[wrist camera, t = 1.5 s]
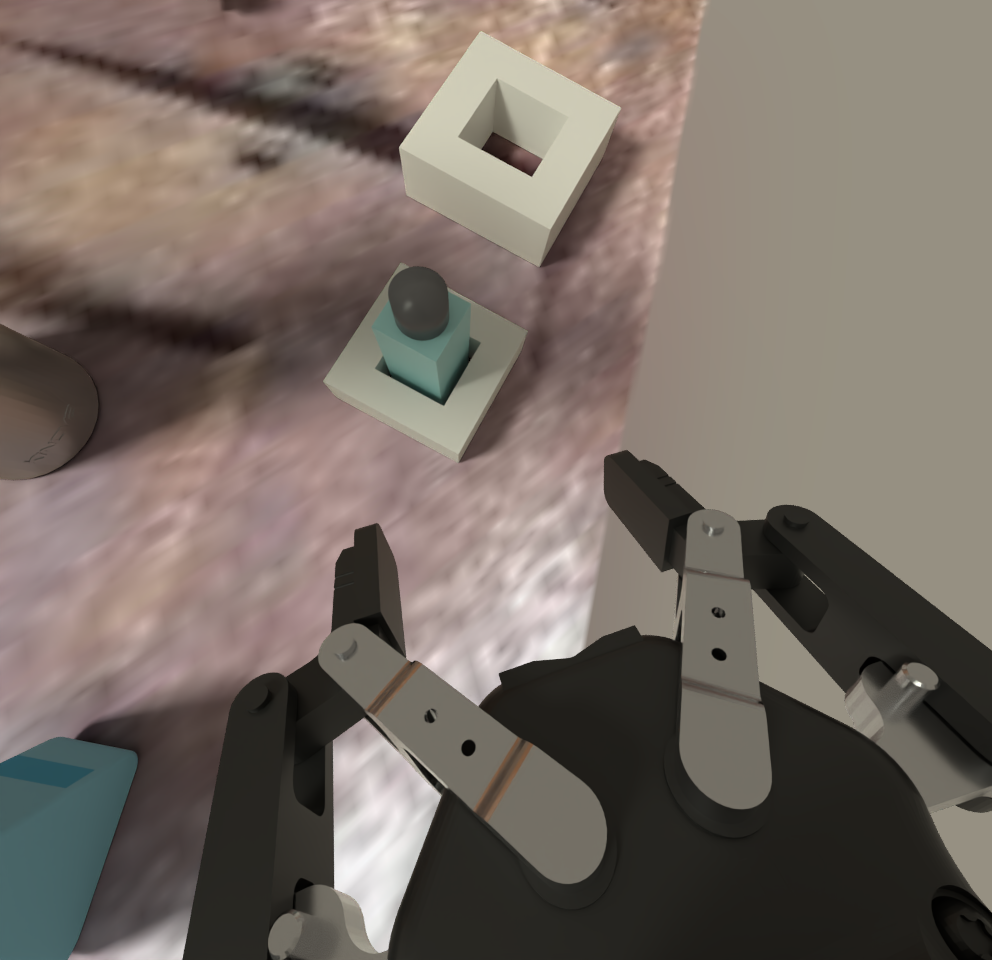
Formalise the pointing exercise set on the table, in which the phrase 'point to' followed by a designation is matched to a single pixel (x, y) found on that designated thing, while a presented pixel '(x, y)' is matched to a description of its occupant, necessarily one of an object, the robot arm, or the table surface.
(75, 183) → the table surface
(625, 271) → the table surface
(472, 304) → the holster
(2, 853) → the data package
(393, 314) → the plug
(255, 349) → the table surface
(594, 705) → the robot arm
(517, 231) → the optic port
